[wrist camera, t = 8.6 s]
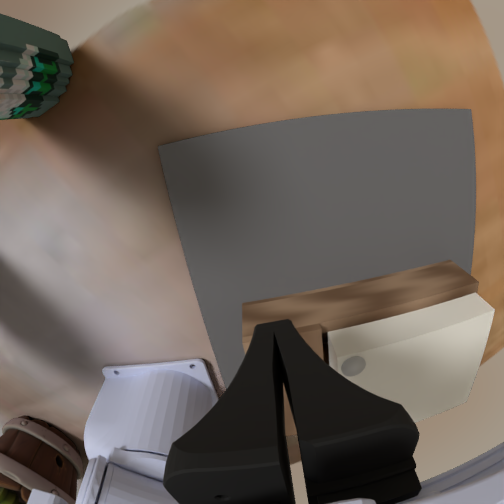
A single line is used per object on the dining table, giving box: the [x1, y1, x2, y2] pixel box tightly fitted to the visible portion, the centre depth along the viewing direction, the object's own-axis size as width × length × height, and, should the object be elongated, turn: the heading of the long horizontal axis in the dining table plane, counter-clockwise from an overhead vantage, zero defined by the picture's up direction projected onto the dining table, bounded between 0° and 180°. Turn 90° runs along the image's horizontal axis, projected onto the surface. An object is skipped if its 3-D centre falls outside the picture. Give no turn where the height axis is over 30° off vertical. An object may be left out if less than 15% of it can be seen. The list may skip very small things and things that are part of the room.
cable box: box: [242, 260, 479, 436], centre depth 22 cm, size 16×10×5 cm, turn 100°
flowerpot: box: [0, 416, 84, 504], centre depth 21 cm, size 14×15×20 cm
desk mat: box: [158, 109, 476, 389], centre depth 22 cm, size 22×22×1 cm
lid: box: [328, 292, 495, 423], centre depth 19 cm, size 11×9×3 cm
